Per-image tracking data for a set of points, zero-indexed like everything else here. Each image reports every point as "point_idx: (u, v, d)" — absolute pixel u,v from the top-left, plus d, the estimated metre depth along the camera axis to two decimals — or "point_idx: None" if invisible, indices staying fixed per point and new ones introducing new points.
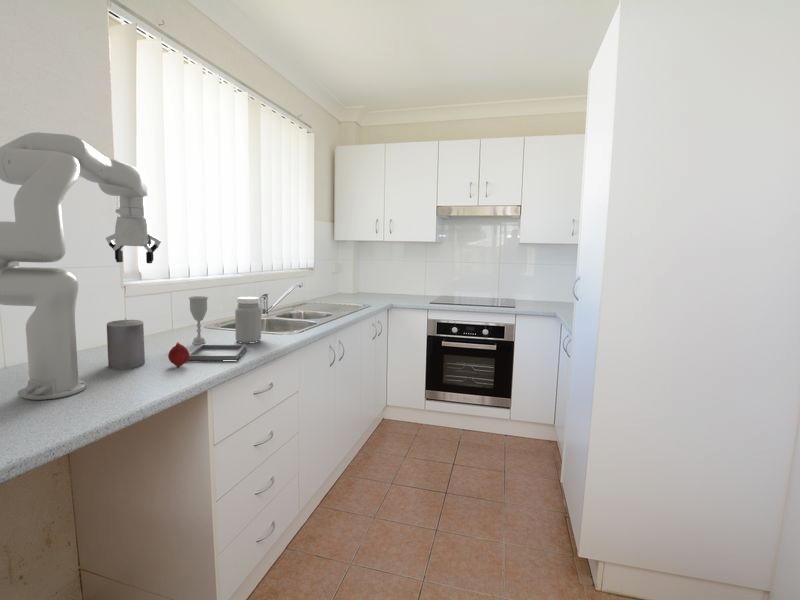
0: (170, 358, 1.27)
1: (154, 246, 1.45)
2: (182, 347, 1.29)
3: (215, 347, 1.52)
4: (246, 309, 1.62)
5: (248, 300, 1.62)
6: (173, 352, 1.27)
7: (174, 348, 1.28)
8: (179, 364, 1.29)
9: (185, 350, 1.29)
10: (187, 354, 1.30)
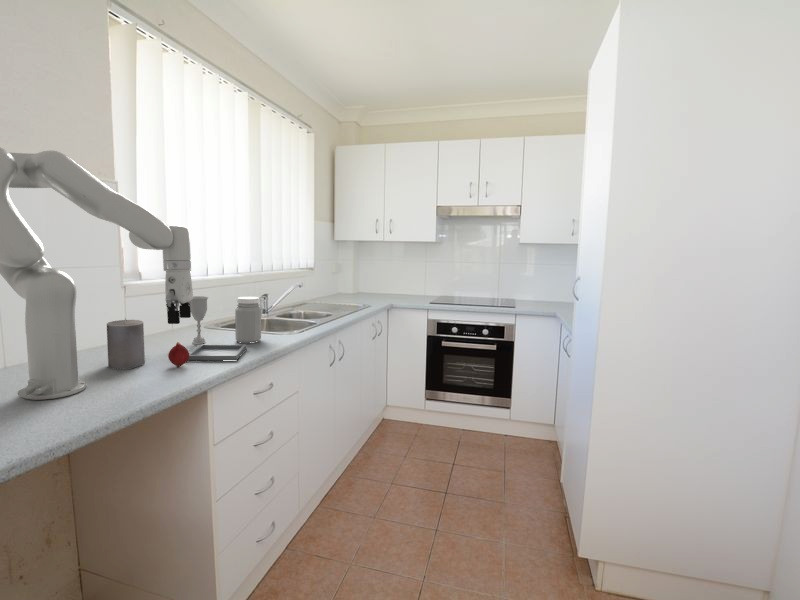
0: (170, 358, 1.27)
1: None
2: (182, 347, 1.29)
3: (215, 347, 1.52)
4: (246, 309, 1.62)
5: (248, 300, 1.62)
6: (173, 352, 1.27)
7: (174, 348, 1.28)
8: (179, 364, 1.29)
9: (185, 350, 1.29)
10: (187, 354, 1.30)
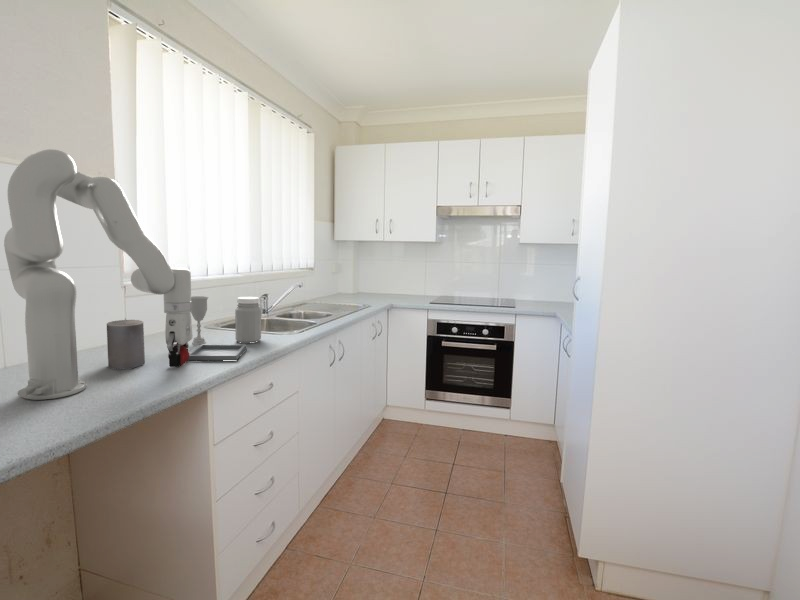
0: None
1: None
2: (182, 347, 1.29)
3: (215, 347, 1.52)
4: (246, 309, 1.62)
5: (248, 300, 1.62)
6: None
7: None
8: None
9: (185, 350, 1.29)
10: (187, 354, 1.30)
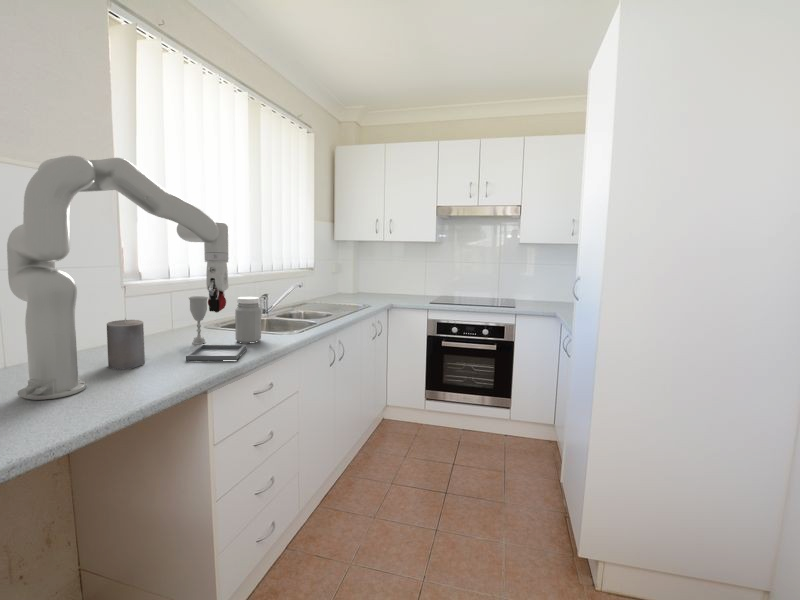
0: None
1: None
2: (220, 294, 1.42)
3: (215, 347, 1.52)
4: (246, 309, 1.62)
5: (248, 300, 1.62)
6: None
7: None
8: None
9: (223, 297, 1.42)
10: (225, 301, 1.43)
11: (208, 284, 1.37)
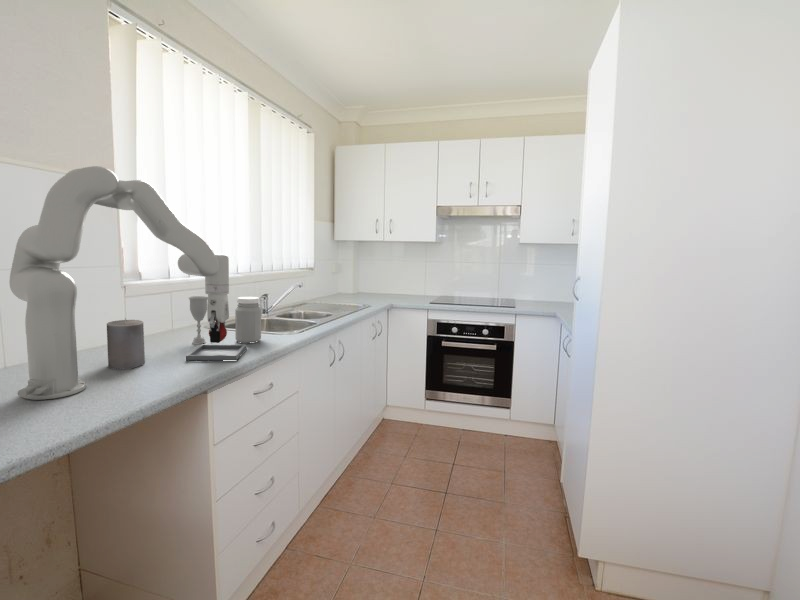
0: None
1: None
2: (221, 325, 1.43)
3: (215, 347, 1.52)
4: (246, 309, 1.62)
5: (248, 300, 1.62)
6: None
7: None
8: None
9: (224, 328, 1.44)
10: (225, 331, 1.44)
11: (209, 316, 1.38)
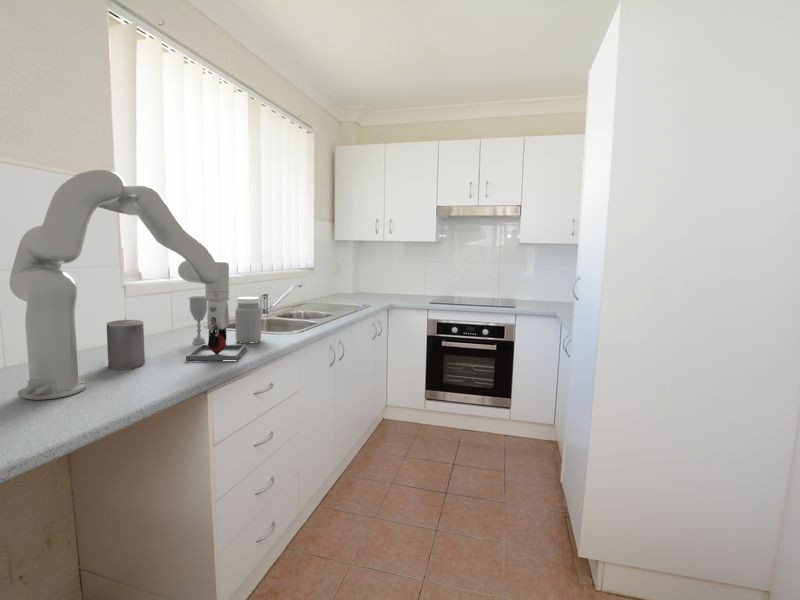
0: None
1: None
2: (220, 336, 1.44)
3: None
4: (246, 309, 1.62)
5: (248, 300, 1.62)
6: None
7: None
8: (218, 351, 1.43)
9: (223, 339, 1.44)
10: (224, 342, 1.44)
11: (209, 323, 1.39)
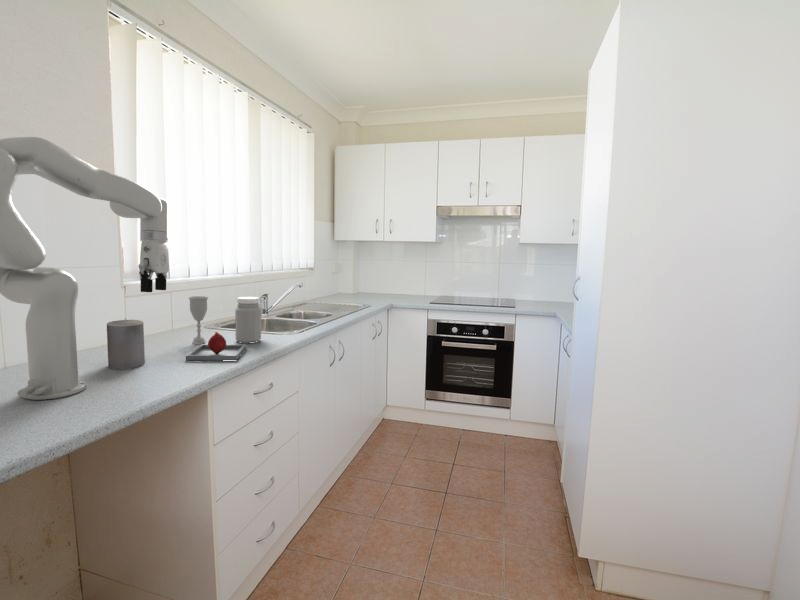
0: (210, 346, 1.42)
1: None
2: (220, 336, 1.44)
3: None
4: (246, 309, 1.62)
5: (248, 300, 1.62)
6: (213, 340, 1.42)
7: (213, 337, 1.42)
8: (218, 351, 1.43)
9: (223, 339, 1.44)
10: (225, 342, 1.44)
11: None
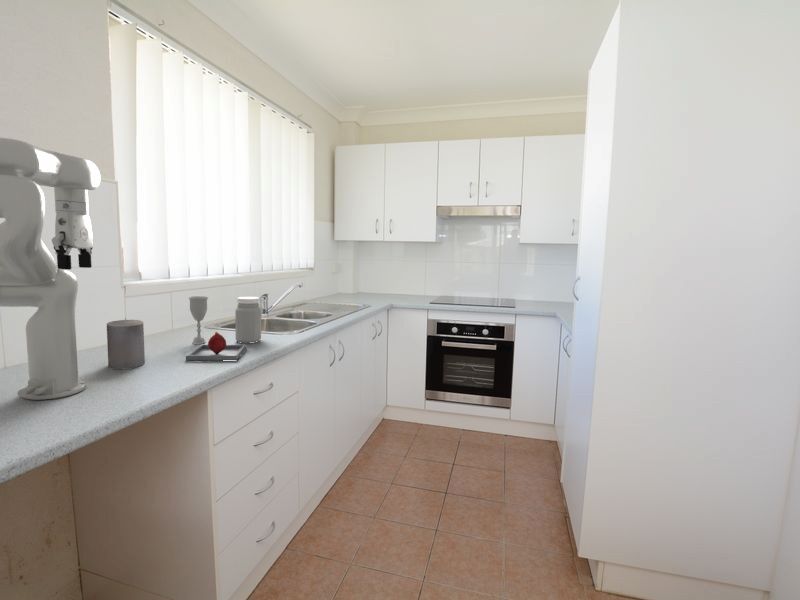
0: (210, 346, 1.42)
1: (91, 247, 1.26)
2: (220, 336, 1.44)
3: None
4: (246, 309, 1.62)
5: (248, 300, 1.62)
6: (213, 340, 1.42)
7: (213, 337, 1.42)
8: (218, 351, 1.43)
9: (223, 339, 1.44)
10: (225, 342, 1.44)
11: None
